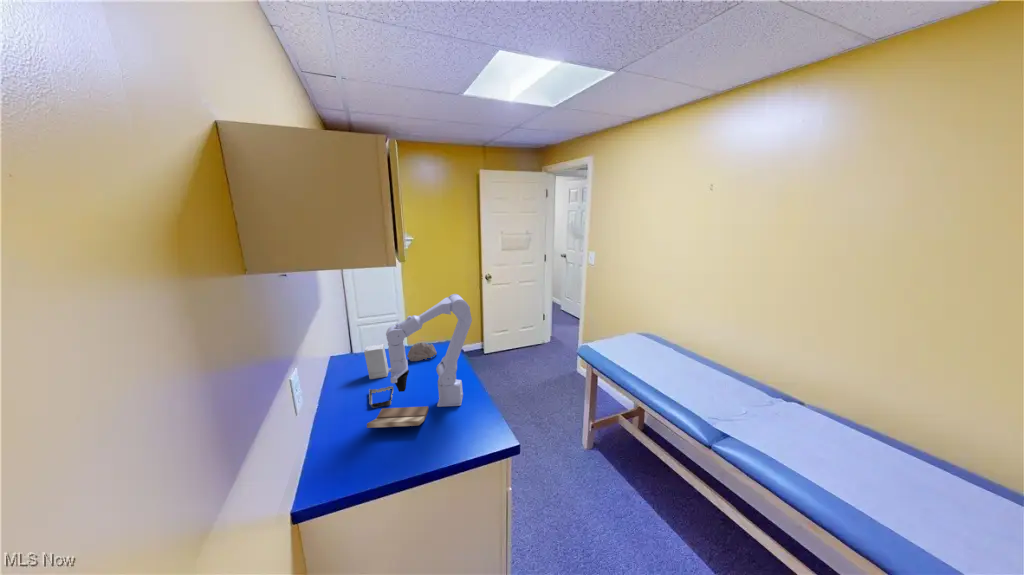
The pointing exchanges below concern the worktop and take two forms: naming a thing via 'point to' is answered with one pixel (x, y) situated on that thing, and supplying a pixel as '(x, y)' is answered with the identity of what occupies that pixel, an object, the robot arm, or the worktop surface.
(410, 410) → the walnut strip
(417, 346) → the pumice stone
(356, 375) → the worktop surface
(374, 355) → the skincare box
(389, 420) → the maple plank
